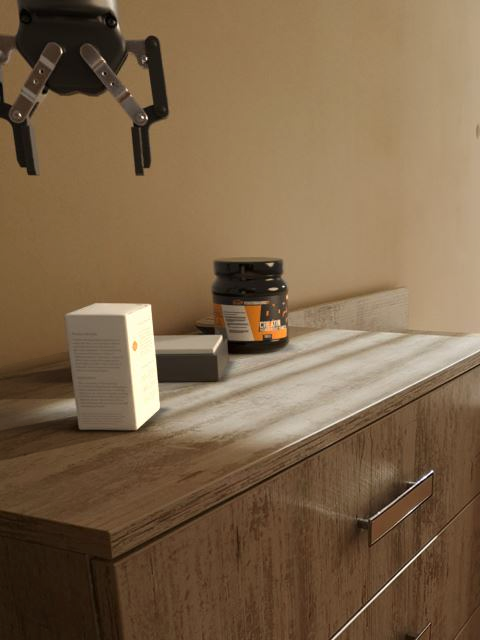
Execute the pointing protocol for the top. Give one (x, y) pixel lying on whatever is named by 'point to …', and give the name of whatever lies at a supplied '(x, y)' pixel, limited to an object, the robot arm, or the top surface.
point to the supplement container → (251, 304)
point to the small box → (113, 365)
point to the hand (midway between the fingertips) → (87, 175)
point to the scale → (190, 357)
